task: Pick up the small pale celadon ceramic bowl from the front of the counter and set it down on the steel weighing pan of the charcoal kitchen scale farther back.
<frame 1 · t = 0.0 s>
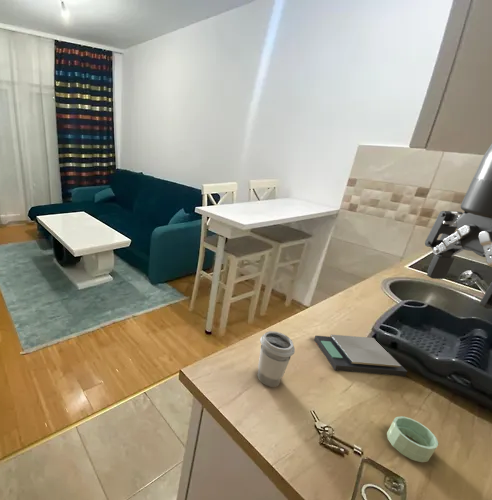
hand: (459, 291, 42), 33 cm above the kitchen counter, tool pointing down, fingers open, 8 cm apart
scale: (346, 348, 78), on the kitchen counter
scale pan: (363, 349, 73), point 3 cm above the kitchen counter, slide at 0.0 cm
bowl: (405, 448, 53), on the kitchen counter
cup: (267, 382, 67), on the kitchen counter
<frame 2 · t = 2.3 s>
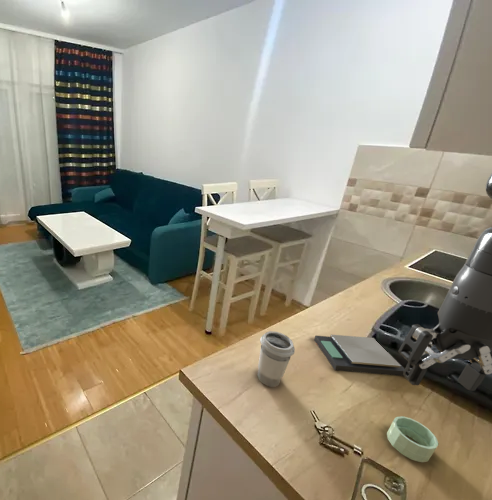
hand: (437, 383, 48), 16 cm above the kitchen counter, tool pointing down, fingers open, 8 cm apart
nothing on the kitchen counter moved.
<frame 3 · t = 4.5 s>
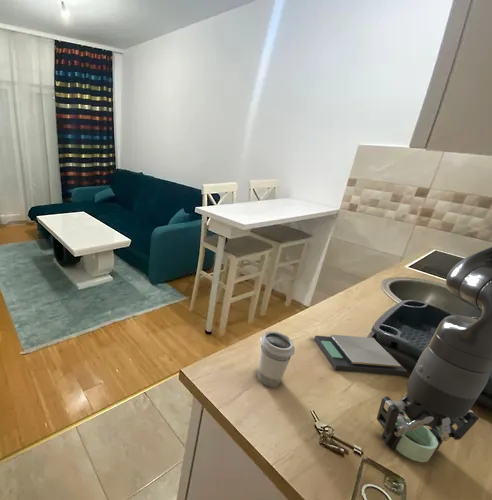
hand: (407, 446, 53), 1 cm above the kitchen counter, tool pointing down, fingers closed on bowl, 6 cm apart
bowl: (405, 448, 53), on the kitchen counter, touching gripper
everything else where it was.
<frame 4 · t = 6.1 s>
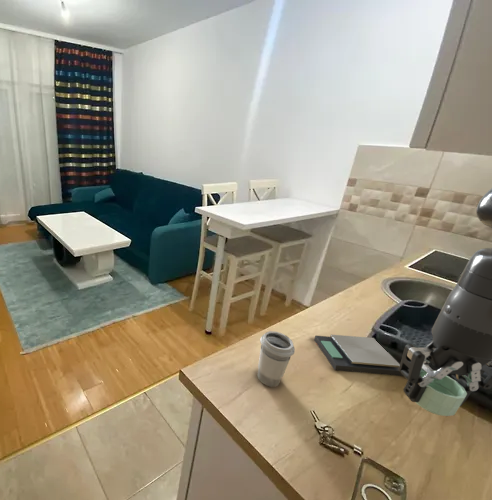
hand: (431, 399, 49), 12 cm above the kitchen counter, tool pointing down, fingers closed on bowl, 6 cm apart
bowl: (429, 402, 50), point 11 cm above the kitchen counter, touching gripper
everything else where it was.
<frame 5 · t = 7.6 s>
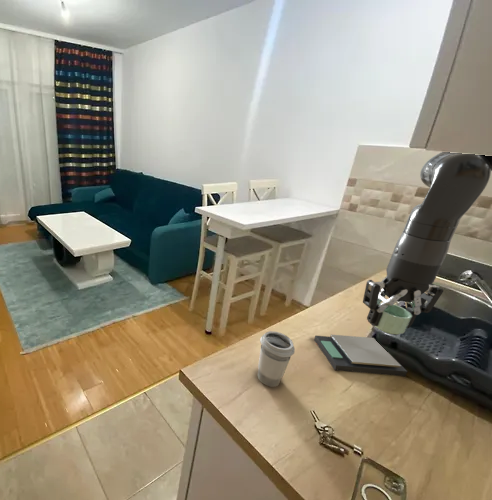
hand: (387, 324, 64), 15 cm above the kitchen counter, tool pointing down, fingers closed on bowl, 6 cm apart
bowl: (386, 327, 65), point 14 cm above the kitchen counter, touching gripper
everything else where it was.
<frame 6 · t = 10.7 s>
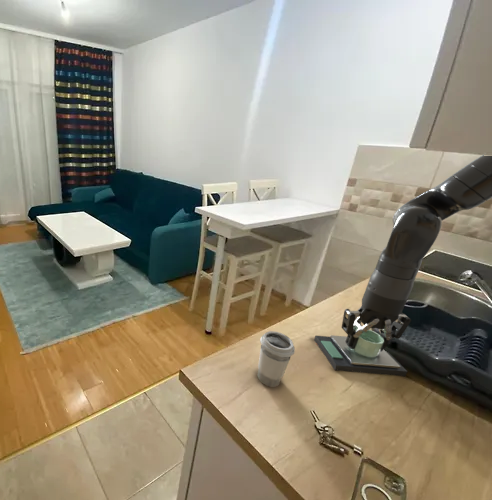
hand: (363, 347, 73), 4 cm above the kitchen counter, tool pointing down, fingers closed on bowl, 6 cm apart
scale pan: (362, 350, 73), point 3 cm above the kitchen counter, slide at -0.2 cm, touching bowl
bowl: (362, 349, 73), point 3 cm above the kitchen counter, touching gripper, scale pan
everything else where it was.
when the fingers open (4 cm above the kitchen counter, at t = 11.0 s): bowl stays where it is, resting on scale pan.
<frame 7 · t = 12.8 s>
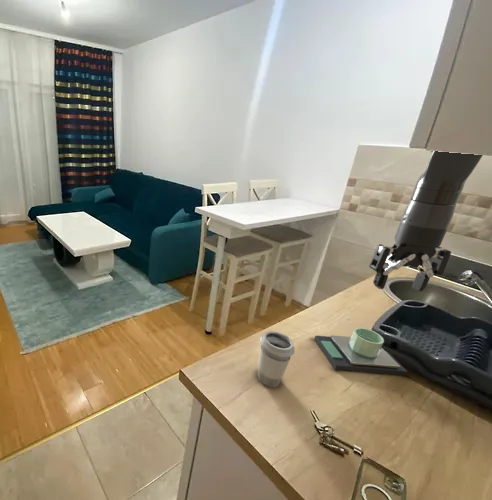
hand: (397, 288, 68), 20 cm above the kitchen counter, tool pointing down, fingers open, 8 cm apart
bowl: (362, 349, 73), point 3 cm above the kitchen counter, touching scale pan
everything else where it was.
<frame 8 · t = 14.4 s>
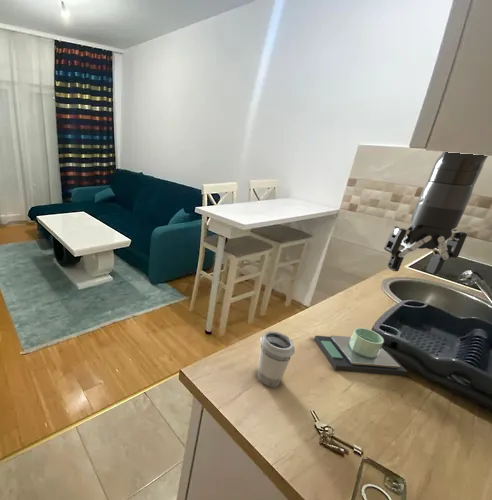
hand: (411, 271, 68), 24 cm above the kitchen counter, tool pointing down, fingers open, 8 cm apart
nothing on the kitchen counter moved.
at the end: bowl inside the target area on the scale (0.1 cm from its centre), point 3.4 cm above the scale's base; bowl tilted 0°; bowl touching scale pan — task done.
